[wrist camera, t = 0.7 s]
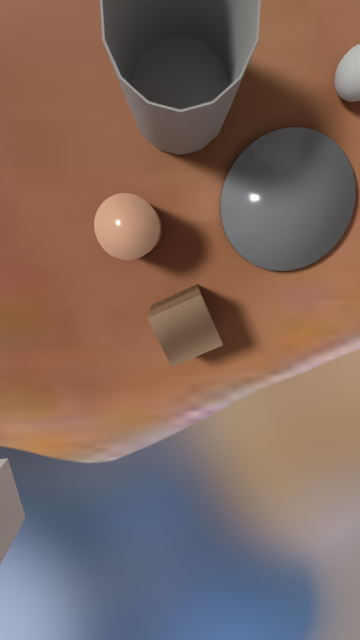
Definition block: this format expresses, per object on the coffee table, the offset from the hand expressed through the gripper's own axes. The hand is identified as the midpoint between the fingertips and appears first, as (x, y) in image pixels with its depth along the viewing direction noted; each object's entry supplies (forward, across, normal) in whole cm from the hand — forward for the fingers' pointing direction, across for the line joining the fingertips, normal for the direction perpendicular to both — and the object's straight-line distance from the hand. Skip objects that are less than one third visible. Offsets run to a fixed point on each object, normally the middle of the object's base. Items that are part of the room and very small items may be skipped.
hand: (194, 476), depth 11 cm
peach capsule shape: (+21, -4, +9) cm, 23 cm away
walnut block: (+21, 0, 0) cm, 21 cm away
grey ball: (+21, +15, +19) cm, 32 cm away
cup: (+21, +1, +19) cm, 28 cm away
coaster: (+21, +10, +10) cm, 25 cm away
